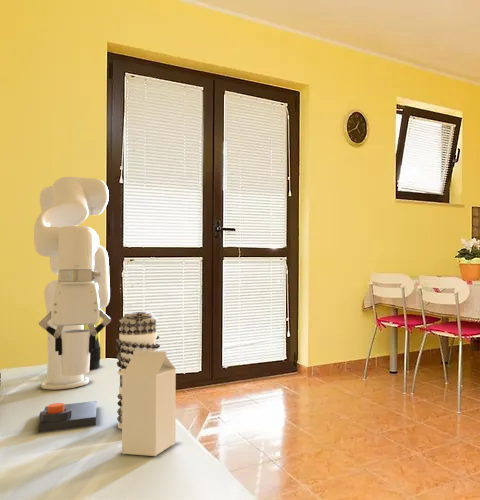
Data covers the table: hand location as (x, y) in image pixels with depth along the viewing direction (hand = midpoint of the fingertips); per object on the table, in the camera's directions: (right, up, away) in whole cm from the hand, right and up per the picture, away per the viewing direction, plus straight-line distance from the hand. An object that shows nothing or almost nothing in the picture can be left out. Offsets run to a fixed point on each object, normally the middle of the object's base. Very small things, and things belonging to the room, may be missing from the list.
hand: (75, 352), depth 122 cm
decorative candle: (+18, -15, -7) cm, 24 cm away
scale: (0, -15, -4) cm, 15 cm away
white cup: (0, -5, 0) cm, 5 cm away
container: (-27, -17, +55) cm, 63 cm away
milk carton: (+26, -15, -23) cm, 38 cm away
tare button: (0, -12, -9) cm, 14 cm away
